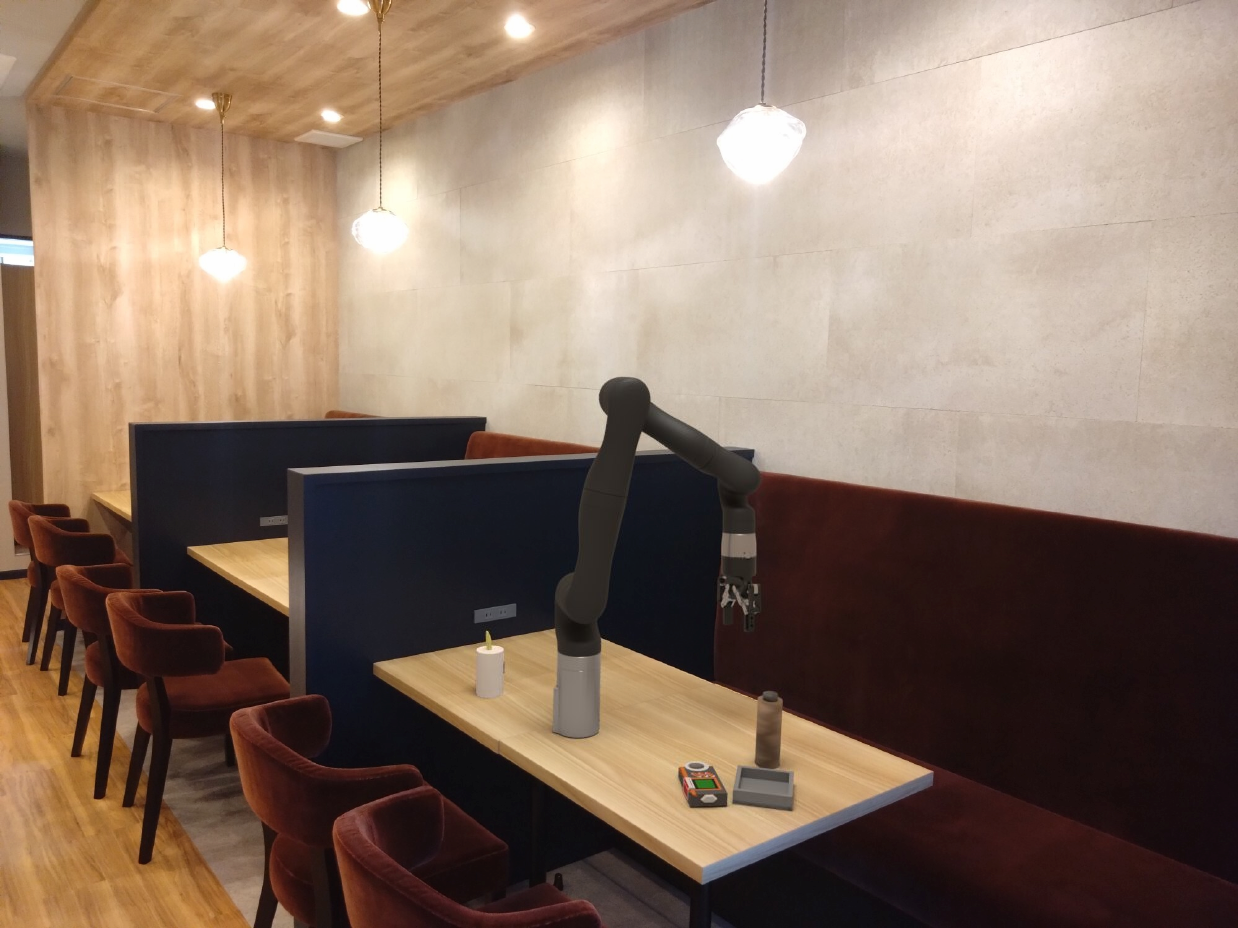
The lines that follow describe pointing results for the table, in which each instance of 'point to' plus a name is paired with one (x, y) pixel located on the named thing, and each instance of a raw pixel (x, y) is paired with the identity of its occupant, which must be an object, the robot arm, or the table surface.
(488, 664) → the candle
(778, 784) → the tray
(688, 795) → the electronic device
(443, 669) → the table surface
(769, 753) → the pepper mill
